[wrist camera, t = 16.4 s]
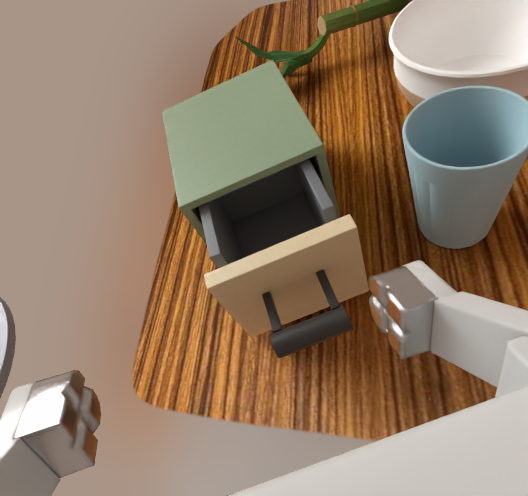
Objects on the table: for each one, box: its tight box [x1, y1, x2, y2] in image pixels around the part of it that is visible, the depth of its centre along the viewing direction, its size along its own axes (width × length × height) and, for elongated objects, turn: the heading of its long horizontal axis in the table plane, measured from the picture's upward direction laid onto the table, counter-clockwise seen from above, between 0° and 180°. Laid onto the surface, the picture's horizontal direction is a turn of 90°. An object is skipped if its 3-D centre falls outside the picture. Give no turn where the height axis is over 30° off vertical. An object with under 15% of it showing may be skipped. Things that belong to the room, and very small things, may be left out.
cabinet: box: [162, 60, 341, 244], centre depth 36 cm, size 13×11×10 cm
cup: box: [402, 86, 528, 249], centre depth 28 cm, size 8×8×10 cm
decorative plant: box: [236, 0, 413, 78], centre depth 49 cm, size 6×8×30 cm
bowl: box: [389, 0, 528, 108], centre depth 36 cm, size 16×16×8 cm
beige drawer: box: [199, 158, 369, 358], centre depth 30 cm, size 17×10×9 cm, turn 15°
